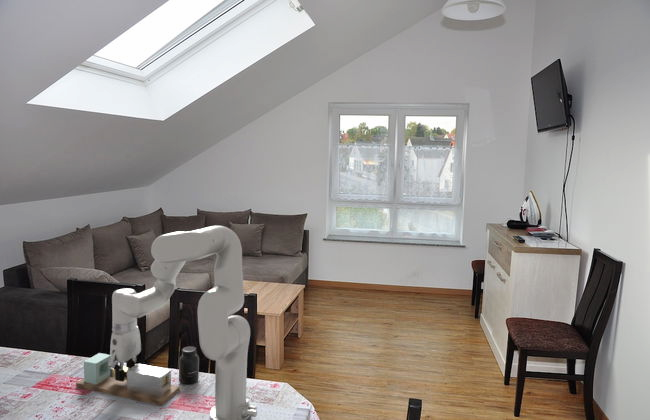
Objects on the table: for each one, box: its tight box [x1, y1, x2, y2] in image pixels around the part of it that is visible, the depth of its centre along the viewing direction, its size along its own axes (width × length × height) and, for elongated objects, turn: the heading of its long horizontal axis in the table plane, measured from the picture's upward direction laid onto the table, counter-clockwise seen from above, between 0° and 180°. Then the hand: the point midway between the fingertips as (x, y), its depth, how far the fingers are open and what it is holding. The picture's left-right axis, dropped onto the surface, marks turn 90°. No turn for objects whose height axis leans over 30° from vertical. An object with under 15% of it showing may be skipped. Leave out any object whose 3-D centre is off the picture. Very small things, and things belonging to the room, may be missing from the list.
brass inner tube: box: [110, 364, 166, 386], centre depth 152 cm, size 20×3×3 cm, turn 74°
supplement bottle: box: [178, 345, 200, 386], centre depth 160 cm, size 7×7×12 cm
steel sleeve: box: [127, 363, 172, 397], centre depth 150 cm, size 13×6×7 cm, turn 74°
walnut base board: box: [75, 376, 181, 407], centre depth 153 cm, size 34×10×2 cm, turn 74°
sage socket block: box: [83, 352, 112, 384], centre depth 156 cm, size 5×7×8 cm
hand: (125, 376), depth 153 cm, fingers open, 4 cm apart
